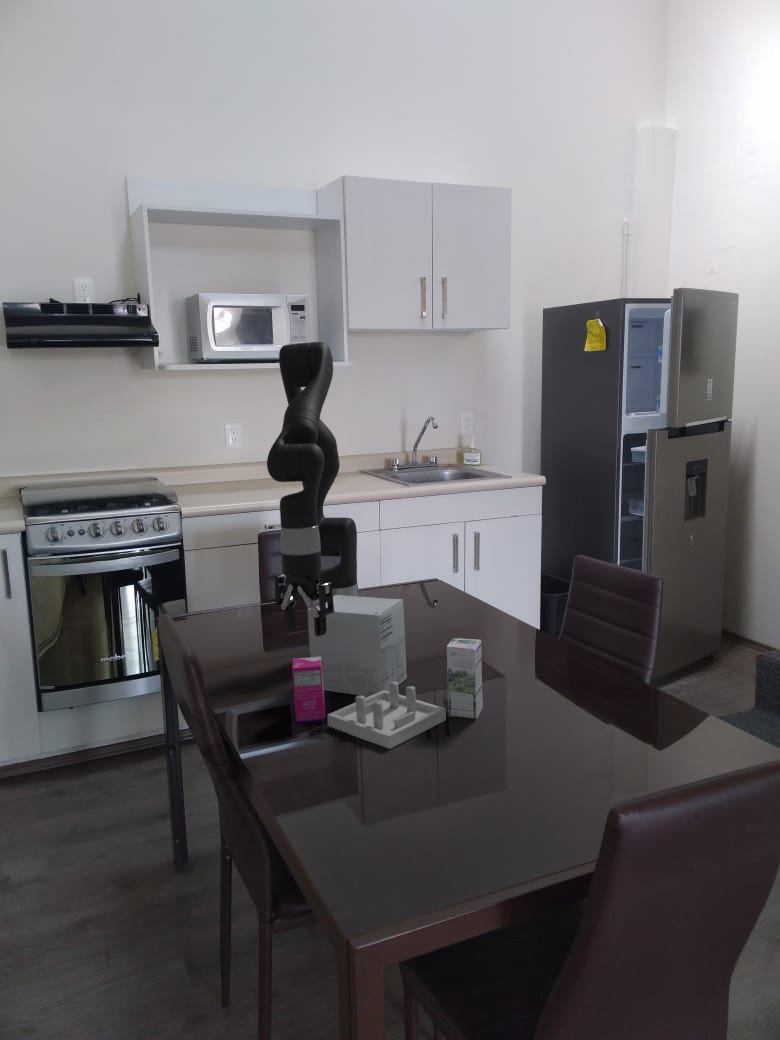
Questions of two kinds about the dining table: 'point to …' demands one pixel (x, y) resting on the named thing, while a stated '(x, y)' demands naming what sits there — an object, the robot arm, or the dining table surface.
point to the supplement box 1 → (308, 690)
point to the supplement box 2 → (361, 645)
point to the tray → (387, 717)
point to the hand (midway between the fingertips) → (305, 631)
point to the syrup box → (464, 678)
